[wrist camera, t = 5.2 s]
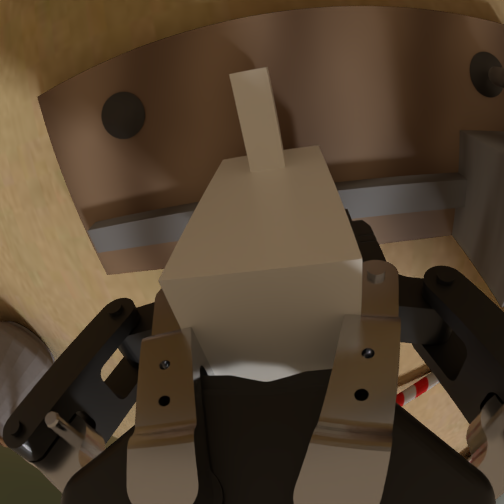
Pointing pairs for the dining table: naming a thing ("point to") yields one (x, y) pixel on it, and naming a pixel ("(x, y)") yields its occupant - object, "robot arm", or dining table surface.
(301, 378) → the robot arm
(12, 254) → the dining table surface
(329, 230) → the gauge slider
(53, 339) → the dining table surface
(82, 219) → the base
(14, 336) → the coffee pot
